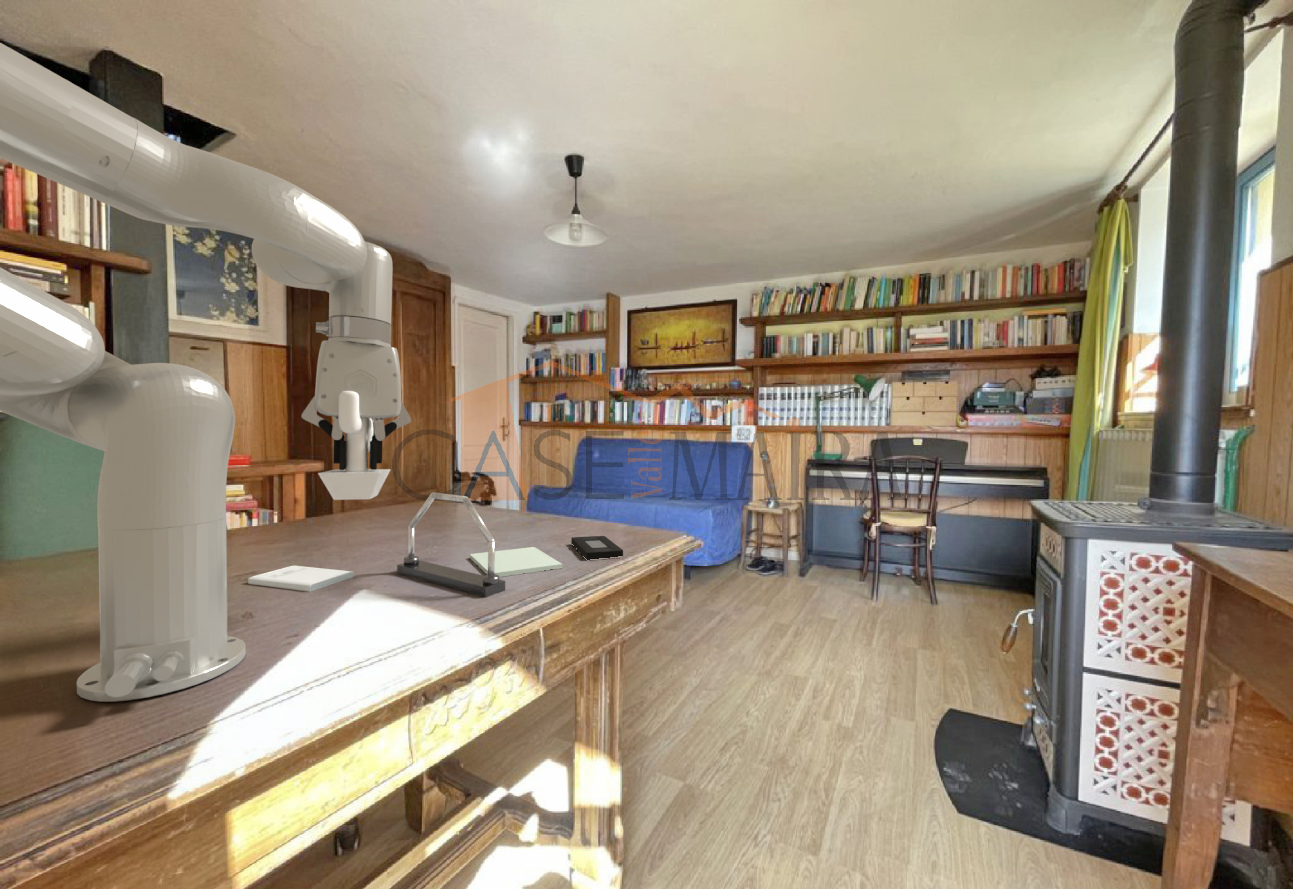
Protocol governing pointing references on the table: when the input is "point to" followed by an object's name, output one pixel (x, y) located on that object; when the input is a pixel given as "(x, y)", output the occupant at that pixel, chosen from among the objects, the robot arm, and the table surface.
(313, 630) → the table surface
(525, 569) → the mat
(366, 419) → the figurine
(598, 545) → the vhs tape
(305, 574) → the external hard drive
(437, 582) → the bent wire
